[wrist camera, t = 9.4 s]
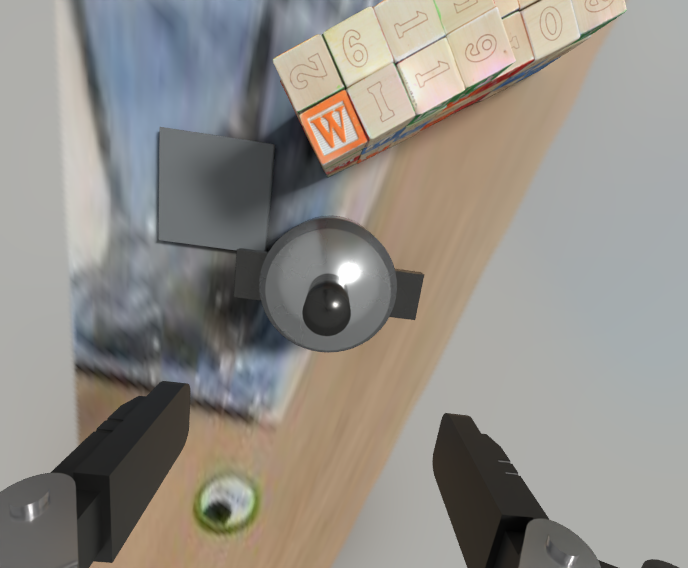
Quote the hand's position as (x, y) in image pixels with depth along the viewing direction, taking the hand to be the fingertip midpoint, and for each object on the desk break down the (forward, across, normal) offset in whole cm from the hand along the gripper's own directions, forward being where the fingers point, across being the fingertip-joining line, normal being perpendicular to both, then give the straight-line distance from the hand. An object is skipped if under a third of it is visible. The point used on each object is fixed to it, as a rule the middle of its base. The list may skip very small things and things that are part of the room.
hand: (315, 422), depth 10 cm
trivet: (+24, +11, -6) cm, 27 cm away
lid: (+17, 0, 0) cm, 17 cm away
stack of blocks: (+24, -6, -17) cm, 30 cm away
